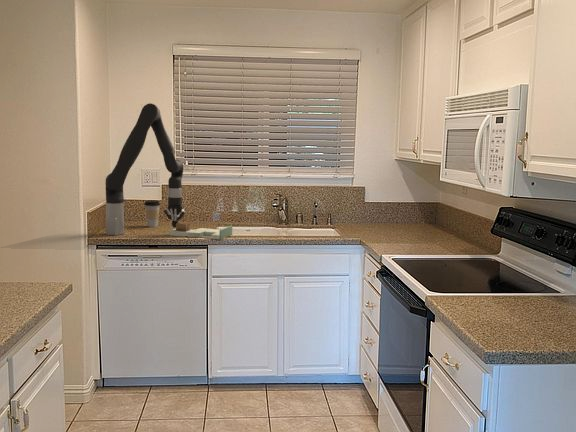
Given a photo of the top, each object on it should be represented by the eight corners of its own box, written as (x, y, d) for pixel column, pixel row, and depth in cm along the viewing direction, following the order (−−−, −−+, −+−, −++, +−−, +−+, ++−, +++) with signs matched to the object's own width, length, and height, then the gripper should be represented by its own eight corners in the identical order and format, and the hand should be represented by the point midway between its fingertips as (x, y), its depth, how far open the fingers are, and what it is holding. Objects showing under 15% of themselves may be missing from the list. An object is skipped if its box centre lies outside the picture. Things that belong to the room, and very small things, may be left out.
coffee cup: (161, 227, 348) (161, 202, 346) (145, 228, 345) (145, 202, 342) (159, 224, 357) (158, 200, 355) (143, 225, 353) (142, 200, 351)
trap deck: (221, 239, 315) (221, 230, 315) (168, 235, 324) (168, 226, 323) (232, 234, 331) (232, 225, 330) (181, 230, 339) (181, 222, 338)
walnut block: (186, 231, 322) (186, 224, 321) (175, 230, 323) (175, 223, 323) (190, 229, 328) (190, 222, 327) (180, 229, 329) (180, 222, 329)
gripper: (160, 196, 322) (160, 227, 325) (182, 197, 319) (182, 229, 321) (167, 194, 329) (167, 225, 332) (188, 196, 326) (188, 227, 329)
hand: (175, 227), depth 327 cm, fingers closed
